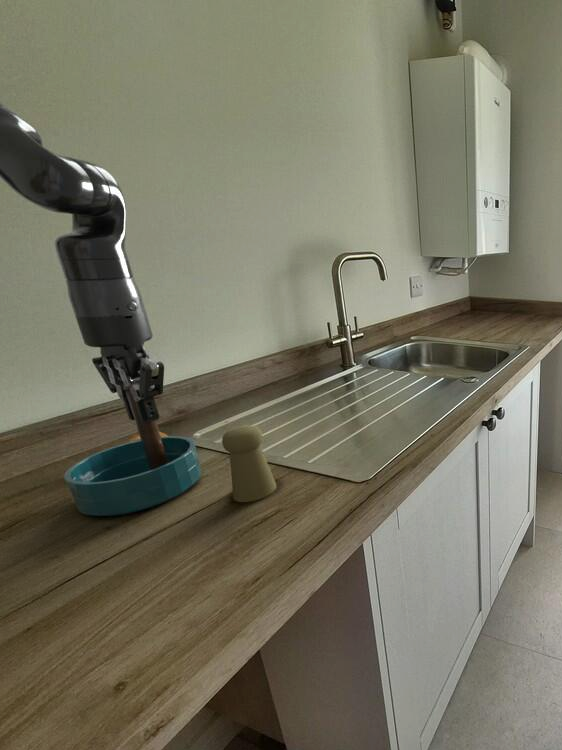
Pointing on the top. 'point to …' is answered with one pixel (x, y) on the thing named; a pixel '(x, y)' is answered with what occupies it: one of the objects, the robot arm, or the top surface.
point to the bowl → (132, 477)
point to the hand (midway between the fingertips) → (145, 419)
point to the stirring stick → (149, 437)
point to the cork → (248, 464)
